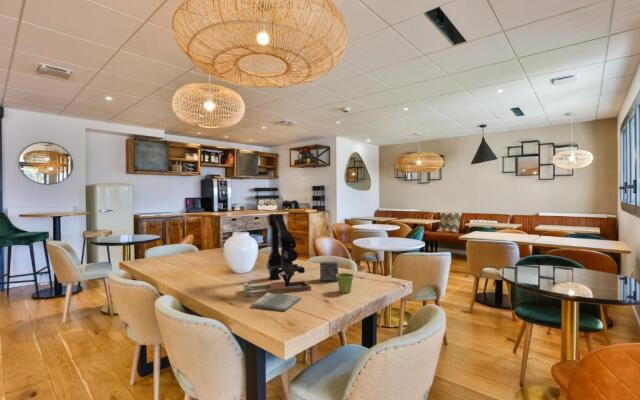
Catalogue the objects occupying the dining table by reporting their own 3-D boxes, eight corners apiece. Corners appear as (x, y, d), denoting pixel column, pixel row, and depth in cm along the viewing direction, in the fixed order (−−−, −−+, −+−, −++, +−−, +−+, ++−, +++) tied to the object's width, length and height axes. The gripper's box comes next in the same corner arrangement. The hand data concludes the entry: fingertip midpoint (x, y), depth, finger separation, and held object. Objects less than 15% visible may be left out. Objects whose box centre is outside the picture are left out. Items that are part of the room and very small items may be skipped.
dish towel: (285, 313, 138) (285, 306, 138) (250, 308, 144) (249, 301, 144) (302, 300, 155) (302, 293, 155) (270, 296, 162) (270, 290, 161)
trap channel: (243, 290, 170) (243, 283, 170) (304, 284, 181) (304, 277, 181) (246, 297, 159) (246, 289, 159) (311, 290, 170) (310, 282, 170)
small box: (338, 279, 192) (338, 261, 192) (338, 281, 185) (337, 264, 185) (321, 278, 193) (320, 261, 193) (320, 281, 186) (319, 263, 186)
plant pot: (356, 290, 169) (356, 273, 168) (350, 295, 160) (350, 278, 160) (340, 288, 172) (339, 272, 172) (333, 293, 164) (333, 276, 164)
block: (270, 289, 173) (270, 282, 172) (283, 288, 174) (283, 281, 174) (271, 293, 166) (271, 285, 166) (284, 292, 167) (284, 284, 167)
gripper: (272, 262, 161) (272, 292, 161) (307, 259, 167) (307, 288, 167) (268, 258, 171) (268, 286, 171) (301, 255, 177) (302, 283, 178)
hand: (287, 286), depth 172 cm, fingers closed
